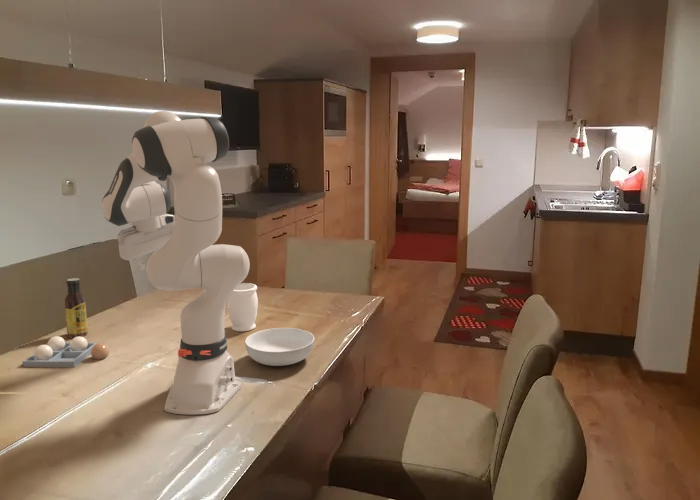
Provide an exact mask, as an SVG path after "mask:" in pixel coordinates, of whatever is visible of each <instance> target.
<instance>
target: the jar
mask: <svg viewBox="0 0 700 500" xmlns="http://www.w3.org/2000/svg"><path fill="white" fill-rule="evenodd" d="M257 290H258V286H257V285H256V284H254V283H251V282H249V283H248V282H241V283H240V284H239V285H238V286H237V287H236V288H235V289H234V290H233V291H232V293H231V295H230V296H229V298H228V300H227V303H226V305H227V311H228V316H229V320H230V322H231V324H232V325H231V328H230V329H231V330H232V331H235V332H248V331H251V330H254V329H255V328H256V327H257V325H256V323H255V322H256V319H257V315H258V308H259V307H258V306H259V299H258V294H257Z"/></svg>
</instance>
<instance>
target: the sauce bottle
mask: <svg viewBox="0 0 700 500" xmlns="http://www.w3.org/2000/svg"><path fill="white" fill-rule="evenodd" d="M66 285H67V294H66V297H65V299H64V303H65V304H64V305H65V306H64V311H65V321H66V333H67V337H68V338H69V339H73V338H75V337H78V336H81V337H84V338H85V337H86V336H88V331H89V329H88V317H87V305H86V300H85V298H84V297H83V294H82V292H81V280H80V278H78V277H73V278H67V279H66Z"/></svg>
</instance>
